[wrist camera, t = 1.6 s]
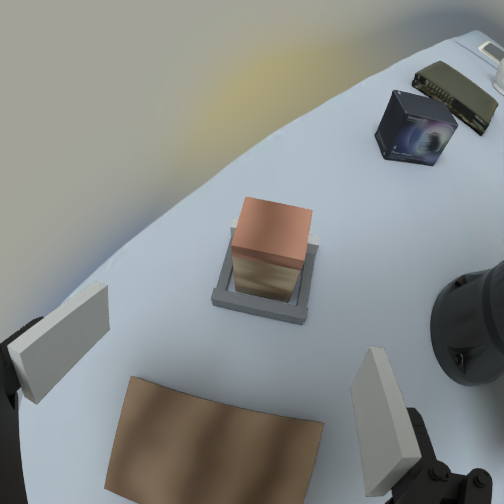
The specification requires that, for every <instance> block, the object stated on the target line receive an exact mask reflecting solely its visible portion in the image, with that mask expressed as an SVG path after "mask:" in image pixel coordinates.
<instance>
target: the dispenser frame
mask: <svg viewBox="0 0 504 504" xmlns="http://www.w3.org/2000/svg"><path fill="white" fill-rule="evenodd" d="M238 220H239V219H235V218H233V220H232V224H231V227H230V228H231V240H230V243H229V247H228V250H227V253H226V257H225V260H224V263H223V267H222V270H221V274H220V277H219V280H218V284H217V287H216V288H214V289H213V293H212V296H211V300H212V303H213V305H214V306H218V307H222V308H226V309H231V310H235V311H239V312H244V313H248V314H252V315H257V316H262V317H266V318H271V319H276V320H280V321H285V322H290V323H295V324H300V325H302V324H303V323H304V321H305V320H306V316H307V311H308V308H306V307H307V301H308V295H309V289H310V283H311V277H312V271H313V264H314V258H315V253H316V251H317V249H318V247H319V242H320V236H317V235H312V234H309V237H308V243H307V249H306V255H305V261H304V266H303V272H302V278H301V283H300V289H299V294H298V300H297V305H296V306H294V305H290V304H285V303H280V302H275V301H271V300H266V299H261V298H257V297H252V296H248V295H243V294H239V293H234V292H230V291H227V288H228V284H229V280H230V277H231V273H232V270H233V260H232V250H231V244H232V240H233V237H234V233H235V230H236V227H237V223H238Z"/></svg>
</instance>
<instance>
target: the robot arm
mask: <svg viewBox="0 0 504 504" xmlns="http://www.w3.org/2000/svg"><path fill="white" fill-rule="evenodd" d="M109 330H110V327H109V309H108V285H106V284H103V283H100V282H97V281H96V282H94V283H93V284H91V285H90V286H88V287H87V288H85V289H84V290H83V291H81V292H80V293H78V294H77V295H75V296H74V297H72V298H71V299H70V300H68V301H67V302H65V303H64V304H63V305H61V306H60V307H58V308H57V309H56V310H54V311H53V312H51V313H50V314H49V315H47V316H46V317H39V318H36V319H33V320H32V321H31V322H29V323H28V324H26V325H25V326H23V327H22V328H21V329H20V330H19V331H17V332H15V333H14V334H13V335H11V336H10V337H9V338H8V339H6V340H5V341H3V342H2V343H1V344H0V504H28V501H27V496H26V490H25V484H24V477H23V470H22V461H21V451H20V438H19V416H18V393H17V390H18V389H19V388H20V387H21V388H22V391H23V394H24V396H25V397H26V398H27V399H29V400H30V401H32V402H33V403H35V404H36V405H37V404H38V403H39V402H40V401H41V400H42V399H43V398H44V397H45V396H46V395H47V394H48V392H49V391H50V390H51V389H52V388H53V387H54V386H55V385H56V384H57V383H58V382H59V381H60V380H61V379H62V378H63V377H64V376H65V375H66V374H67V373H68V372H69V370H70V369H71V368H72V367H73V366H74V365H75V364H76V363H77V362H78V361H79V360H80V359H81V358H82V357H83V356H84V355H85V354H86V353H87V352H88V351H89V350H90V349H91V348H92V347H93V346H94V345H95V344H96V343H97V342H98V341H99V340H100V339H101V338H102V337H103V336H104V335H105V334H106V333H107V332H108V331H109ZM431 336H432V343H433V347H434V351H435V354H436V356H437V359H438V361H439V363H440V365H441V366H442V368H443V370H444V371H445V372H446V373H447V375H448V376H449V377H450V378H452V379H453V380H454V381H456V382H458V383H459V384H462V385H466V386H477V385H482V384H486V383H489V382H491V381H493V380H495V379H497V378H498V377H499V376H501V375H502V374H503V373H504V260H503V261H502V262H501V263H499V264H498V265H497V266H495V267H494V268H493V269H489V270H484V271H479V272H473V273H468V274H464V275H462V276H460V277H458V278H456V279H455V280H454V281H452V282H451V283H449V284H448V285H447V286H446V287H445V288H444V289H443V290H442V291H441V293H440V294H439V296H438V297H437V300H436V302H435V305H434V308H433V312H432V318H431ZM351 394H352V400H353V405H354V412H355V418H356V424H357V431H358V437H359V444H360V452H361V459H362V467H363V476H364V484H365V494H366V497H374V496H384V495H385V494H386V493H387V492H388V491H390V490H392V496H393V497H391V498H390V499H389V500H388V501H387V502H386V503H385V504H491V499H492V484H493V483H492V478H491V476H490V474H489V473H488V472H487V471H486V470H484V469H481V468H476V469H473V470H472V471H471V472H470V473H469V474H468V475H467V476H466V475H460V474H455V473H451V470H450V469H449V467H448V466H447V465H446V464H444V463H443V462H441V461H438V460H437V459H436V456H435V453H434V450H433V447H432V444H431V441H430V438H429V435H428V434H427V433H428V432H427V430H426V427H425V424H424V421H423V419H422V416H421V415H420V414H419V412H418V411H417V410H416V409H415V408H407V407H406V406H405V403H404V400H403V397H402V394H401V392H400V389H399V386H398V383H397V381H396V378H395V375H394V372H393V370H392V367H391V365H390V362H389V359H388V357H387V354H386V352H385V349H384V348H380V347H373V346H370V347H369V350H368V352H367V354H366V356H365V359H364V361H363V363H362V365H361V367H360V370H359V372H358V374H357V376H356V378H355V380H354V382H353V384H352V386H351Z"/></svg>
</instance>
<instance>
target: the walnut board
mask: <svg viewBox="0 0 504 504" xmlns="http://www.w3.org/2000/svg"><path fill="white" fill-rule="evenodd" d="M323 426H324V423H321V422H316V421H309V420H302V419H296V418H289V417H284V416H278V415H273V414H267V413H262V412H257V411H253V410H248V409H243V408H239V407H235V406H231V405H226V404H222V403H218V402H215V401H211V400H207V399H203V398H200V397H196V396H193V395H189V394H186V393H183V392H179V391H176V390H173V389H170V388H167V387H164V386H161V385H158V384H155V383H152V382H149V381H146V380H143V379H140V378H138V377H134V376H131V378H130V381H129V385H128V388H127V392H126V396H125V399H124V403H123V407H122V411H121V415H120V419H119V423H118V427H117V431H116V435H115V439H114V444H113V448H112V453H111V457H110V462H109V466H108V471H107V476H106V481H105V486H104V489H107V490H109V491H111V492H113V493H115V494H117V495H120V496H122V497H124V498H127V499H129V500H131V501H134V502H136V503H139V504H303V502H304V498H305V495H306V492H307V488H308V485H309V481H310V478H311V474H312V471H313V467H314V463H315V459H316V455H317V451H318V447H319V443H320V439H321V435H322V431H323Z"/></svg>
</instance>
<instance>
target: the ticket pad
mask: <svg viewBox="0 0 504 504" xmlns="http://www.w3.org/2000/svg"><path fill="white" fill-rule="evenodd" d="M311 217H312V210H309V209H305V208H300V207H295V206H290V205H286V204H281V203H276V202H271V201H266V200H261V199H255V198H250V197H245V200H244V204H243V207H242V210H241V214H240V217H239V220H238V223H237V227H236V230H235V233H234V237H233V240H232V244H231V250H232V260H233V270H234V280H235V290H236V292H240V293H245V294H249V295H254V296H258V297H263V298H267V299H272V300H277V301H281V302H286V303H288V301H289V299H290V296H291V294H292V291H293V289H294V286H295V284H296V281H297V279H298V276H299V274H300V271H301V269H302V266H303V264H304V261H305V255H306V249H307V243H308V237H309V230H310V224H311Z"/></svg>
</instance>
